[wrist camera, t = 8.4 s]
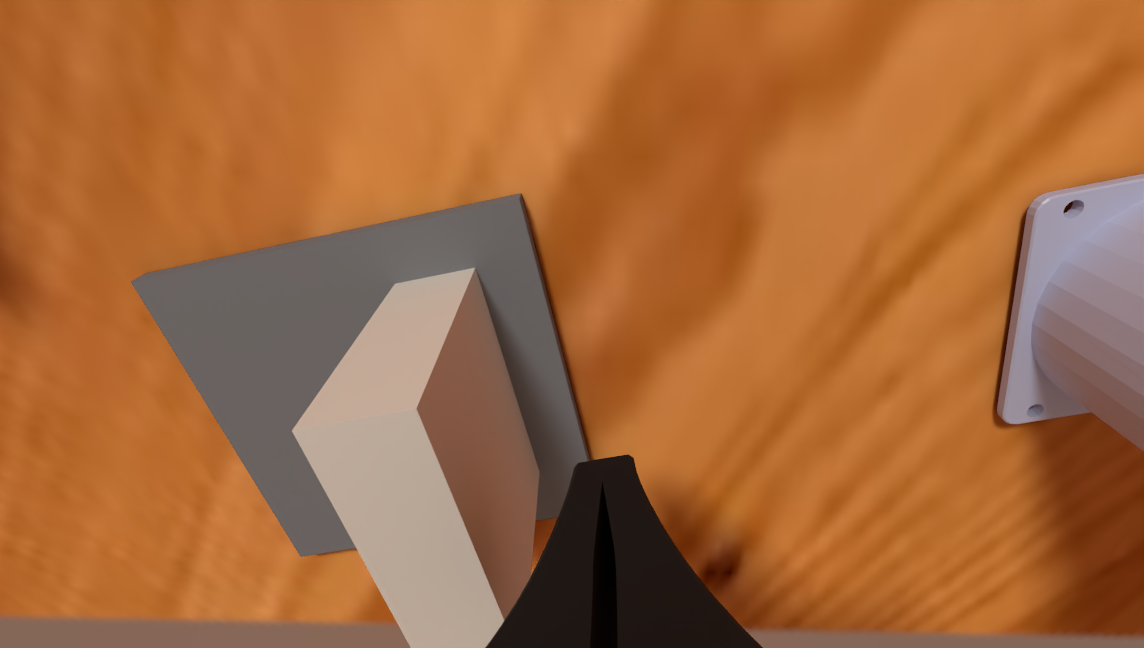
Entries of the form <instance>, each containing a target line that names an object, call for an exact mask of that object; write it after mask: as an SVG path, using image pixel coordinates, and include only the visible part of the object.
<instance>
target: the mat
mask: <svg viewBox="0 0 1144 648" xmlns="http://www.w3.org/2000/svg"><path fill="white" fill-rule="evenodd" d="M471 268H476V272H477V275H478V278H479V281H480V284H481V288H482V291H483V294H484V297H485V300H486V303H487V307H488V310H489V313H490V316H491V319H492V323H493V326H494V329H495V332H496V335H497V338H498V342H499V345H500V348H501V351H502V354H503V358H504V361H505V364H506V367H507V370H508V373H509V377H510V380H511V383H512V386H513V389H514V393H515V396H516V399H517V402H518V405H519V408H520V412H521V415H522V418H523V421H524V424H525V428H526V431H527V434H528V437H529V440H530V443H531V447H532V450H533V453H534V456H535V459H536V463H537V466H538V469H539V484H538V496H537V508H536V520H535V521H538V520H545V519H551V518H558V516H559V514H560V511H561V509H562V506H563V503H564V500H565V498H566V495H567V492H568V489H569V485H570V482H571V478H572V475H573V470H574V467H575V466H576V465H577V463H580V462H586V461H590V458H589V454H588V450H587V446H586V442H585V438H584V435H583V431H582V427H581V423H580V419H579V415H578V411H577V407H576V404H575V400H574V396H573V392H572V388H571V384H570V380H569V377H568V373H567V369H566V365H565V361H564V357H563V353H562V349H561V346H560V342H559V338H558V334H557V330H556V326H555V322H554V318H553V315H552V311H551V307H550V303H549V299H548V295H547V291H546V287H545V284H544V280H543V276H542V272H541V268H540V264H539V260H538V257H537V253H536V249H535V245H534V241H533V237H532V233H531V229H530V226H529V222H528V218H527V214H526V210H525V206H524V202H523V198H522V195H521V194H516V195H511V196H507V197H502V198H497V199H493V200H488V201H483V202H479V203H474V204H469V205H464V206H460V207H455V208H450V209H446V210H441V211H436V212H432V213H427V214H422V215H418V216H413V217H408V218H404V219H399V220H394V221H390V222H385V223H380V224H376V225H371V226H366V227H362V228H357V229H352V230H348V231H343V232H338V233H334V234H329V235H324V236H320V237H315V238H310V239H306V240H301V241H296V242H292V243H287V244H282V245H278V246H273V247H268V248H264V249H259V250H254V251H250V252H245V253H240V254H236V255H231V256H226V257H222V258H217V259H212V260H208V261H203V262H198V263H194V264H189V265H184V266H179V267H175V268H170V269H165V270H161V271H156V272H151V273H147V274H144V275H142V276H140V277H138V278H137V279H135V280H133V281H131V283H132V284H133V286H134V288H135V289H136V291H137V292H138V294H139V296H140V297H141V299H142V300H143V302H144V304H145V305H146V307H147V309H148V310H149V312H150V313H151V315H152V317H153V318H154V320H155V322H156V323H157V325H158V326H159V328H160V330H161V331H162V333H163V334H164V336H165V338H166V339H167V341H168V343H169V344H170V346H171V347H172V349H173V351H174V352H175V354H176V356H177V357H178V359H179V360H180V362H181V364H182V365H183V367H184V368H185V370H186V372H187V373H188V375H189V377H190V378H191V380H192V381H193V383H194V385H195V386H196V388H197V390H198V391H199V393H200V394H201V396H202V398H203V399H204V401H205V402H206V404H207V406H208V407H209V409H210V411H211V412H212V414H213V415H214V417H215V419H216V420H217V422H218V424H219V425H220V427H221V428H222V430H223V432H224V433H225V435H226V436H227V438H228V440H229V441H230V443H231V445H232V446H233V448H234V449H235V451H236V453H237V454H238V456H239V458H240V459H241V461H242V462H243V464H244V466H245V467H246V469H247V470H248V472H249V474H250V475H251V477H252V479H253V480H254V482H255V483H256V485H257V487H258V488H259V490H260V492H261V493H262V495H263V496H264V498H265V500H266V501H267V503H268V504H269V506H270V508H271V509H272V511H273V513H274V514H275V516H276V517H277V519H278V521H279V522H280V524H281V526H282V527H283V529H284V530H285V532H286V534H287V535H288V537H289V538H290V540H291V542H292V543H293V545H294V547H295V548H296V550H297V551H298V553H299V555H300V556H301V557H302V556H309V555H315V554H322V553H329V552H335V551H342V550H348V549H355V548H356V547H355V545H354V543H353V541H352V540H351V538H350V536H349V534H348V532H347V530H346V529H345V527H344V525H343V523H342V521H341V520H340V518H339V516H338V514H337V512H336V510H335V509H334V507H333V505H332V503H331V501H330V499H329V498H328V496H327V494H326V492H325V490H324V489H323V487H322V485H321V483H320V481H319V479H318V478H317V476H316V474H315V472H314V470H313V469H312V467H311V465H310V463H309V461H308V459H307V458H306V456H305V454H304V452H303V450H302V448H301V447H300V445H299V443H298V441H297V439H296V438H295V436H294V434H293V432H292V430H293V428H294V427H295V425H296V424H297V423H298V421H299V420H300V418H301V417H302V416H303V414H304V413H305V411H306V410H307V408H308V407H309V406H310V404H311V403H312V401H313V400H314V398H315V397H316V396H317V394H318V393H319V391H320V390H321V388H322V387H323V386H324V384H325V383H326V381H327V380H328V378H329V377H330V376H331V374H332V373H333V371H334V370H335V368H336V367H337V366H338V364H339V363H340V361H341V360H342V358H343V357H344V356H345V354H346V353H347V351H348V350H349V348H350V347H351V346H352V344H353V343H354V341H355V340H356V339H357V337H358V336H359V334H360V333H361V331H362V330H363V329H364V327H365V326H366V324H367V323H368V321H369V320H370V319H371V317H372V316H373V314H374V313H375V311H376V310H377V309H378V307H379V306H380V304H381V303H382V301H383V300H384V299H385V297H386V296H387V294H388V293H389V291H390V290H391V289H392V287H393V286H394V284H397V283H402V282H406V281H411V280H416V279H421V278H426V277H431V276H436V275H441V274H446V273H451V272H456V271H461V270H466V269H471Z"/></svg>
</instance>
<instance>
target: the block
mask: <svg viewBox="0 0 1144 648" xmlns="http://www.w3.org/2000/svg"><path fill="white" fill-rule="evenodd" d="M292 432H293V434H294V436H295V438H296V439H297V441H298V443H299V445H300V447H301V448H302V450H303V452H304V454H305V456H306V458H307V459H308V461H309V463H310V465H311V467H312V469H313V470H314V472H315V474H316V476H317V478H318V479H319V481H320V483H321V485H322V487H323V489H324V490H325V492H326V494H327V496H328V498H329V499H330V501H331V503H332V505H333V507H334V509H335V510H336V512H337V514H338V516H339V518H340V520H341V521H342V523H343V525H344V527H345V529H346V530H347V532H348V534H349V536H350V538H351V540H352V541H353V543H354V545H355V547H356V549H357V551H358V552H359V554H360V556H361V558H362V560H363V561H364V563H365V565H366V567H367V569H368V571H369V572H370V574H371V576H372V578H373V580H374V581H375V583H376V585H377V587H378V589H379V591H380V592H381V594H382V596H383V598H384V600H385V602H386V603H387V605H388V607H389V609H390V611H391V612H392V614H393V616H394V618H395V620H396V622H397V623H398V625H399V627H400V629H401V631H402V632H403V634H404V636H405V638H406V640H407V642H408V643H409V645H410V647H411V648H485V647H486V646H487V645H488V643H489V642H490V641H491V639H492V638H493V636H494V635H495V634H496V632H497V631H498V629H499V628H500V626H501V625H502V623H503V622H504V620H505V619H506V617H507V616H508V614H509V612H510V611H511V609H512V608H513V606H514V605H515V603H516V602H517V600H518V598H519V597H520V595H521V593H522V591H523V590H524V588H525V586H526V584H527V583H528V581H529V579H530V577H531V569H532V557H533V545H534V533H535V520H536V508H537V496H538V484H539V469H538V466H537V463H536V459H535V456H534V453H533V450H532V447H531V443H530V440H529V437H528V434H527V431H526V428H525V424H524V421H523V418H522V415H521V412H520V408H519V405H518V402H517V399H516V396H515V393H514V389H513V386H512V383H511V380H510V377H509V373H508V370H507V367H506V364H505V361H504V358H503V354H502V351H501V348H500V345H499V342H498V338H497V335H496V332H495V329H494V326H493V323H492V319H491V316H490V313H489V310H488V307H487V303H486V300H485V297H484V294H483V291H482V288H481V284H480V281H479V278H478V275H477V272H476V268H471V269H466V270H461V271H456V272H451V273H446V274H441V275H436V276H431V277H426V278H421V279H416V280H411V281H406V282H402V283H397V284H394V286H393V287H392V289H391V290H390V291H389V293H388V294H387V296H386V297H385V299H384V300H383V301H382V303H381V304H380V306H379V307H378V309H377V310H376V311H375V313H374V314H373V316H372V317H371V319H370V320H369V321H368V323H367V324H366V326H365V327H364V329H363V330H362V331H361V333H360V334H359V336H358V337H357V339H356V340H355V341H354V343H353V344H352V346H351V347H350V348H349V350H348V351H347V353H346V354H345V356H344V357H343V358H342V360H341V361H340V363H339V364H338V366H337V367H336V368H335V370H334V371H333V373H332V374H331V376H330V377H329V378H328V380H327V381H326V383H325V384H324V386H323V387H322V388H321V390H320V391H319V393H318V394H317V396H316V397H315V398H314V400H313V401H312V403H311V404H310V406H309V407H308V408H307V410H306V411H305V413H304V414H303V416H302V417H301V418H300V420H299V421H298V423H297V424H296V425H295V427H294V428H293V430H292Z"/></svg>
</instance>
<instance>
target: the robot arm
mask: <svg viewBox="0 0 1144 648" xmlns="http://www.w3.org/2000/svg"><path fill="white" fill-rule="evenodd" d="M1072 201H1073V205H1072V207H1071V208H1070V209H1069V210H1068V211H1067V212H1066V213H1064V212H1063V211H1064V209H1065V207H1066V206H1067V205H1068V204H1069V203H1070V202H1072ZM1033 405H1034V406H1033ZM1031 406H1033V407H1032V408H1030V407H1031ZM1029 408H1030V409H1029ZM1085 413H1093V414H1094V415H1095V416H1097V417H1098V418H1099V419H1101V420H1102V421H1103V422H1105V423H1106V424H1107V425H1109V426H1110V427H1111V428H1113V429H1114V430H1115V431H1117V432H1118V433H1119V434H1121V435H1122V436H1123V437H1124V438H1126V439H1127V440H1128V441H1130V442H1131V443H1132V444H1134V445H1135V446H1136V447H1138V448H1139V449H1140V450H1142V451H1143V452H1144V174H1140V175H1134V176H1129V177H1124V178H1119V179H1114V180H1109V181H1104V182H1099V183H1093V184H1088V185H1083V186H1078V187H1073V188H1068V189H1063V190H1058V191H1052V192H1048V193H1045V194H1042V195H1040V196H1039V197H1037V198H1036V199H1035V200H1034V201H1033V202H1032V203H1031V205H1030V206H1029V208H1028V211H1027V215H1026V222H1025V228H1024V235H1023V241H1022V248H1021V255H1020V261H1019V268H1018V274H1017V281H1016V287H1015V294H1014V301H1013V307H1012V314H1011V320H1010V327H1009V333H1008V340H1007V346H1006V353H1005V360H1004V366H1003V373H1002V379H1001V386H1000V392H999V399H998V406H997V414H998V415H999V416H1000V417H1001V418H1002V419H1003V420H1004V421H1005V422H1006V423H1009V424H1021V423H1027V422H1034V421H1040V420H1046V419H1053V418H1059V417H1066V416H1072V415H1078V414H1085ZM485 648H762V647H761V646H760V645H759V644H758V643H757V642H756V641H755V640H754V639H753V638H752V637H751V636H750V635H749V634H748V633H747V632H746V631H745V630H744V629H743V628H742V627H741V626H740V624H739V623H738V622H737V621H736V620H735V619H734V618H733V617H732V616H731V615H730V614H729V612H728V611H727V610H726V609H725V608H724V607H723V606H722V605H721V604H720V603H719V601H718V600H717V599H716V598H715V597H714V596H713V595H712V593H711V592H710V591H709V590H708V589H707V587H706V586H705V585H704V584H703V582H702V581H701V580H700V579H699V577H698V576H697V575H696V573H695V572H694V571H693V570H692V568H691V567H690V566H689V564H688V563H687V562H686V560H685V559H684V557H683V556H682V554H681V553H680V552H679V550H678V549H677V547H676V546H675V544H674V543H673V541H672V540H671V538H670V536H669V535H668V533H667V532H666V530H665V529H664V527H663V525H662V524H661V522H660V520H659V518H658V516H657V515H656V513H655V511H654V509H653V507H652V506H651V504H650V502H649V500H648V498H647V496H646V494H645V491H644V489H643V487H642V485H641V482H640V480H639V477H638V474H637V472H636V467H635V463H634V458H633V457H631V456H630V455H623V456H616V457H610V458H604V459H598V460H592V461H586V462H580V463H577V465H576V466H575V467H574V470H573V475H572V478H571V482H570V485H569V489H568V492H567V495H566V498H565V500H564V503H563V506H562V509H561V511H560V514H559V516H558V519H557V521H556V524H555V526H554V529H553V531H552V534H551V536H550V538H549V540H548V543H547V545H546V547H545V549H544V551H543V553H542V555H541V557H540V560H539V562H538V564H537V566H536V568H535V570H534V571H533V573H532V575H531V577H530V579H529V581H528V583H527V584H526V586H525V588H524V590H523V591H522V593H521V595H520V597H519V598H518V600H517V602H516V603H515V605H514V606H513V608H512V609H511V611H510V612H509V614H508V616H507V617H506V619H505V620H504V622H503V623H502V625H501V626H500V628H499V629H498V631H497V632H496V634H495V635H494V636H493V638H492V639H491V641H490V642H489V643H488V645H487V646H486V647H485Z"/></svg>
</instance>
